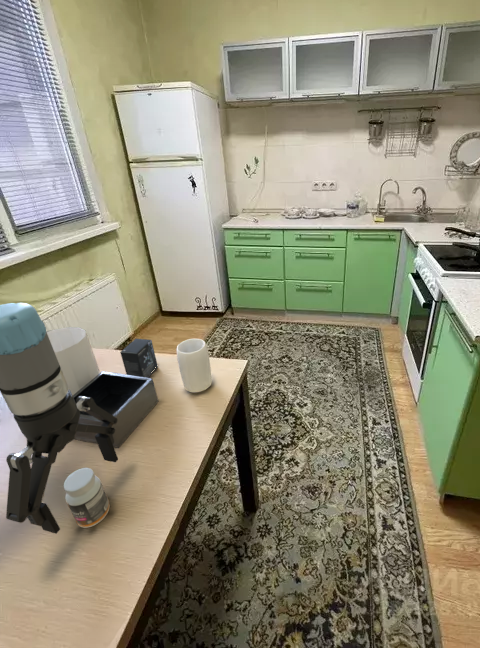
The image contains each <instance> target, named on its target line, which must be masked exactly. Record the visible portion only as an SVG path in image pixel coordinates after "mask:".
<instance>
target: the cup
mask: <svg viewBox="0 0 480 648" xmlns="http://www.w3.org/2000/svg"><path fill="white" fill-rule="evenodd" d="M176 358H177V364H178V370H179V373H180V377H181V381H182V384H183V387H184V389H185V390H186V391H187V392H190V393H200V392H204V391H205V390H207V389H208V388H209V387H210V386H211V385H212V382H213V379H212V368H211V362H210V361H211V360H210V355H209V351H208V346H207V343H206V341H205V340H204V339H201V338H188V339H185V340H183V341H181V342H180V343H178V344H177V346H176Z"/></svg>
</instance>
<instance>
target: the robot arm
mask: <svg viewBox="0 0 480 648" xmlns="http://www.w3.org/2000/svg"><path fill="white" fill-rule="evenodd" d="M46 331H47V327H46V323H44V321H43V320H42V319H41V317H40V315H39V314H38V311H37V309H36V308H35V307H34V306H33V305H32V304H29V303H26V302H17V303H15V302H10V303H3V304H0V394H1V397H2V398H3V400H4V402H5V403H6V405H7V407H8V409H9V411H10V413H11V414H12V415H13V418H14V421H15V422H16V424H17V426H18V428H19V430H20V432H21V433H22V435H23V436H24V437H25V439H26V446H25V447H24V448H22V450H20V451H18V452H17V453H15V452H12V453H9V454H8V455H7V456H6V464H7V466H8V469H9V476H8V488H7V489H8V490H7V500H6V512H5V513H6V514H5V519H6V520H8V521H11V522H15V523H19V524H22V523H24V522H25V521H26V520H28V522H29V523H30V524H31V525H35V526H38V527H40V528H41V529H42V530H43V531H45V532H47V533H52V534H56V535H57V534H58V533H59V531H60V530H61V527H60V526H59V524H58V521H57V520H56V518H55V517H54V515H53V513H52V511H51V509H50V508H49V505H48V504H47V503H46V502H42V501H43V499H44V495H45V491H46V487H47V483H48V479H49V477H50V472H51V468H52V465H53V464H55V463H56V460H57V457H58V453H60V452H62V451H63V450H64V449H65V448H66V446H67V445H68V444H69V443H71V442H72V441H73V440H75V439H74V438H75V437H74V436H75V434H76V432H92V433H100V434H97V435H96V436H95V438H96V441H97V443H98V444H97V447H98V448H99V450H100V454H101V456H102V459H103V460H104V461H107V462H113V463H117V462H118V460H119V458H118V455H117V452H116V448H114V447H113V444H114V438H113V435H112V434H114V433H115V428H112V426H113V424H116V423H117V421H118V419H117V418H116V417H114V416H113V415H111V414H109V413H108V412H106V411H105V410H103V409H101V408H100V407H98V406H97V405H96V404H95V402H94V400H93V399H92V398H89V397H83V396H79V397H77V399H76V402H77V403H75V400H74V398H73V396H72V393H71V391H70V390H69V387H68V384H67V382H66V379H65V377H64V374H63V372H62V370H61V367H60V365H59V362H58V360H57V357H56V355H55V352H54V350H53V347H52V345H51V342H50V340H49V337H48V335H47V332H46ZM80 411H84V412H86V413H88V414H90V415H91V416H93V417H95V418H97V419H98V420H100V421H102V422H103V424H102V425H92V424H84V423H78V422H79V418H80ZM43 454H47V456H45V455H43Z"/></svg>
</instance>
